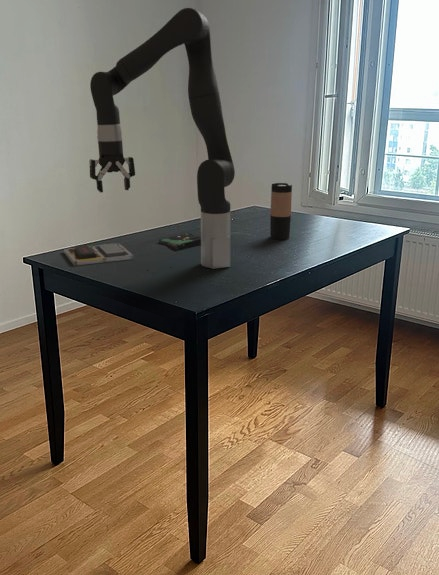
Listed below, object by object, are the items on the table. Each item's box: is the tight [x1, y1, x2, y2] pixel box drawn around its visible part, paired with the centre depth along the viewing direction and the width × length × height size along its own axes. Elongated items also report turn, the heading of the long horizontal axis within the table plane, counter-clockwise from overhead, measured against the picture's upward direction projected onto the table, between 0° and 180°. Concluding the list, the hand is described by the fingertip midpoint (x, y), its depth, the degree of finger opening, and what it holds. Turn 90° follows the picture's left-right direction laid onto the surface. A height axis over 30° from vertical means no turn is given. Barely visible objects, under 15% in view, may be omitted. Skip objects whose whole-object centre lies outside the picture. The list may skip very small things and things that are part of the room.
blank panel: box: [97, 242, 125, 258], centre depth 193 cm, size 12×6×2 cm, turn 25°
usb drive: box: [73, 244, 97, 260], centre depth 190 cm, size 5×12×3 cm, turn 26°
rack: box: [63, 242, 134, 267], centre depth 191 cm, size 17×19×2 cm
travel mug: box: [269, 182, 293, 241], centre depth 217 cm, size 8×8×20 cm
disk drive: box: [158, 232, 201, 252], centre depth 210 cm, size 10×3×15 cm
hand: (114, 191), depth 188 cm, fingers open, 8 cm apart
